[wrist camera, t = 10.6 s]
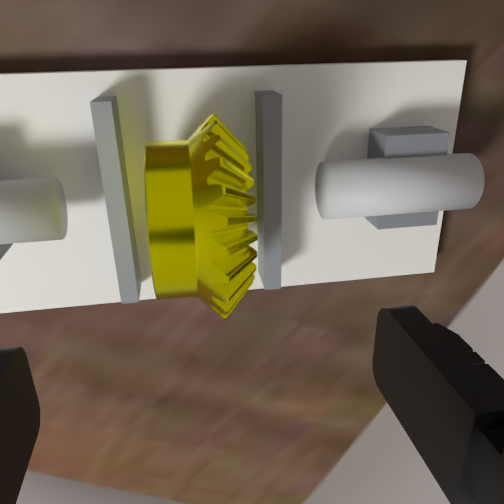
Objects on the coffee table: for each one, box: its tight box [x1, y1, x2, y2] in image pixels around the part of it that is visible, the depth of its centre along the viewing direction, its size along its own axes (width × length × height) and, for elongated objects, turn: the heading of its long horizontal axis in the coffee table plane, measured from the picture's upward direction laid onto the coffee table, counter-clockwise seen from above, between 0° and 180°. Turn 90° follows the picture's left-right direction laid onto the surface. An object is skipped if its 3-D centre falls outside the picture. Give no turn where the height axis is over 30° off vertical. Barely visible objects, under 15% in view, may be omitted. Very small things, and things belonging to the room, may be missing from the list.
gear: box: [144, 114, 258, 319], centre depth 18 cm, size 8×4×8 cm, turn 0°
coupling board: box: [0, 60, 484, 313], centre depth 21 cm, size 26×11×4 cm, turn 91°
